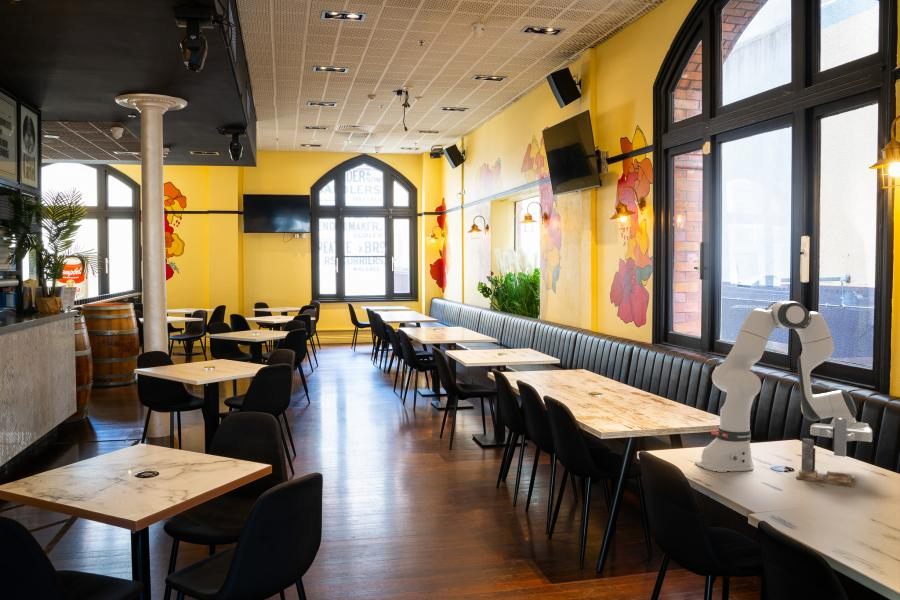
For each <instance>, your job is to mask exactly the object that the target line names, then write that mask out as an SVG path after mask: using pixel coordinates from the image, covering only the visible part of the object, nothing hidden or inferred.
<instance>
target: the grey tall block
mask: <svg viewBox="0 0 900 600" xmlns="http://www.w3.org/2000/svg"><path fill="white" fill-rule="evenodd" d="M846 433H847V419H842V418H835V427H833V438H832V446H831V447H832V450H833V456H837V457H844V458H846V456H847V441H846Z"/></svg>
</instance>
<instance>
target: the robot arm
mask: <svg viewBox="0 0 900 600" xmlns="http://www.w3.org/2000/svg"><path fill="white" fill-rule="evenodd" d="M829 328H830V327H829V326H828V323H827V322H826V320H825V318H824V317H823V315H822V314H821V313H820V312H817V311H809V310H808V309H807V308H806V307H805V306H804V305H803V304H802V303H800V302H798V301H794V300H790V301H789V300H781V301H776V302H773V303H771V304H770V305H768V307H766V308H765V309H763V308H755V309H752V310H751V311H750V312H749V313H748V315H747V316H746V317H745V320H744V321H743V323H742V325H741V328H740V330H739V332H738V334H737V337H736V339H735V341H734V344H733V346H732V347H731V350H730V351H729V353H728V354H727V356H726V357H725V359H724V360H723V361H722V362H721V364H720V365H718V366H716V367H715V368H714V370H713V371H712V374H711V381H712V383H713V384H714V386H715V387H717V388H718V389H719V390H720V391H723V392H725V393H726V397H725V401H724V404H723V405H722V406H721V408H720V410H719V414H720V415H719V428H718V430H716V429H711V430H710V431H711V433H710V434H711V435H714V436H716V437H715V439H713V440H712V441H711V442H710V443H709V444H707V445H706V446H705V447H703V450H702V452H701V459H698V460H695V463H696V464H697V465H696V464H695V463H694V464H695V465H696V466H698V467H699V468H702V467H703V469H705V470H708V471H712V472H716V471H717V472H718V473H726V472H727V471H730V472H743V471H744V472H746V471H747V472H748V471H754V467H755V466H754V463H753V458H752V450H751V443H750V441H751V440H752V434H751V433H752V432H751V429H750V427H751V423H750V422H751V420H750V419H751V410H752V406H753V403H754V399H755V397H756V396H757V395H758V394H759V393H760V392H761V390H762V382H761V381H762V380H761V379H760V377H759V376H758V375H757V374H755V373H754V372H753V371H751V369H752V367H753V366H754V365H755V364H756V363H758V362H759V361H760V360H761V358H763V357H762V356H763V355H764V352H765V349H766V347H767V345H768V342H769V340H770V337H771V334H772V333H773V331H774V330H776V329H782V330H790V329H793V330H795V331H796V333H797V334H798V336H799V339H800V343H801V348H802V351H801V354H800V355H799V356H798V358H797V364H796V365H797V374H798V375H797V376H798V381H799V382H798V383H799V384H798V385H799V391H800V408H801V409H800V410H801V413H802V415H803V416H804V418H806V419H807V420H809V421H812V422H816V423H812V424H811V425H810V429H809V432H810V435H812V436H817V437H824V438H829V439H831V438H832V439H833V427H835V418H842V419H847V433H846V442H853V441H854V442H855V441H856V442H868V443H872V442H873V429H872V427H870V425H869V423H866V422H861V421H857V420H856V415H857V413H858V412H857V407H856V403H855V400H854V399H853V397H852V395H851V394H850V393H849V392H847V391H845V390H844V389H837V390H832V391H829V392H823V393H818V394H817V393H816V394H814V393H813V391H812V383H811V372H812V370H814V369H815V368H816V367H818V366H819V365H821V364H823V363H824V362H826V361H827V360H829V359H830V357H832V355H833V354H834V352H835V344H834V340H833V337H832V334H831V330H830V329H829ZM828 418H832V420H831V421H830V424H829V423H828V424H827V423H820V422H819V423H817V421H821V420H823V419H828ZM727 473H728V472H727Z"/></svg>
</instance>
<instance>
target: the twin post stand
mask: <svg viewBox="0 0 900 600" xmlns="http://www.w3.org/2000/svg"><path fill="white" fill-rule="evenodd" d="M814 440H815V439H814V438H813V439H812V438H802V440H801V467H800V469H799V470H798V471H797V474H796V476H795V479H796V480H800V481H801V480H802V481H806V482H807V481H809V482H814V483H821V484H829V485H836V486H843V487H849V488H854V486H855V482H856V478H855V477H852V476H853V475H852V474H850V473H843V472H837V471H830V470H829V471H826V473H820V472H818V469H816V447H815V441H814Z"/></svg>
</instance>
